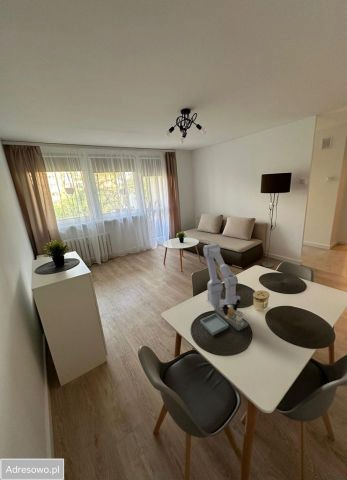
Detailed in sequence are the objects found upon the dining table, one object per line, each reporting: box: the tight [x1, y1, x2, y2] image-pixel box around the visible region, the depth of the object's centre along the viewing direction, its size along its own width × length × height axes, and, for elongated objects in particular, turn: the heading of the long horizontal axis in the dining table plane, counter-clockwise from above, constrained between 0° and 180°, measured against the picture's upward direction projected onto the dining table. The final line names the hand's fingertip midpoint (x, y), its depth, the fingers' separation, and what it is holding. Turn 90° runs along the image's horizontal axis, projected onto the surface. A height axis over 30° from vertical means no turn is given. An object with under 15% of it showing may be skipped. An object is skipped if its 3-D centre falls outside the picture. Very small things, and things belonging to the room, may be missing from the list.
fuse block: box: [213, 305, 249, 332], centre depth 120 cm, size 22×8×3 cm, turn 27°
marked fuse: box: [227, 304, 234, 317], centre depth 119 cm, size 4×4×7 cm
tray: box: [199, 312, 230, 337], centre depth 115 cm, size 12×12×2 cm
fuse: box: [235, 310, 243, 325], centre depth 113 cm, size 4×4×7 cm
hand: (230, 312), depth 120 cm, fingers open, 7 cm apart
